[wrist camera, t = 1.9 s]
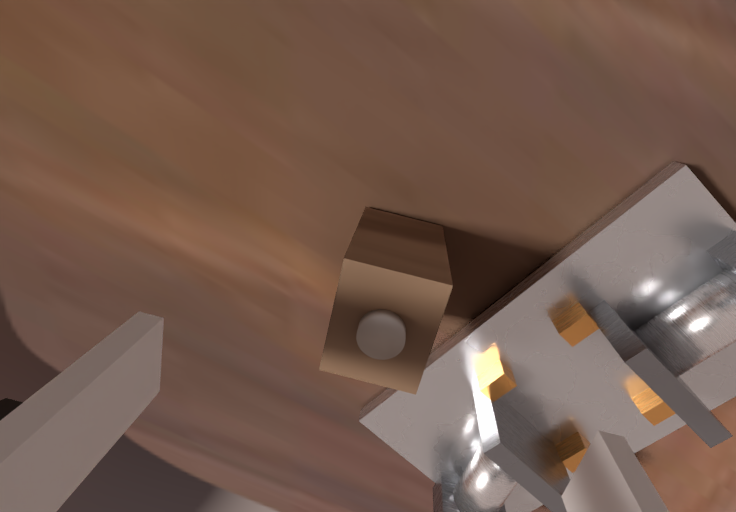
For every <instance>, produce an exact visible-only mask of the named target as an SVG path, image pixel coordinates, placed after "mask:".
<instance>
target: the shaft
mask: <svg viewBox="0 0 736 512" xmlns="http://www.w3.org/2000/svg"><path fill="white" fill-rule="evenodd" d="M516 484H517V482H516V481H515V480H514V479H513V478H512V477H510V476H509V475H508V474H507V473H506V472H505V471H503V470H502V469H501V468H500V467H499V466H497V465H496V464H495V463H494V462H493V461H492V460H490V459H489V458H488V457H487V456H486V455H485V454H484V452H483V446H482V441H481V442H480V444H479V446H478V448H477V449H476V451H475V453H474V455H473V456H472V458H471V460H470V462H469V463H468V465H467V467H466V469H465V470H464V472H463V474H462V476H461V477H460V479H458V478H455V477H452V476H449V475H446V474H443V473H441V474H440V476H439V478H438V479H437V481H436V483H435V485H434V487H433V510H434V512H506V509H505V504H504V502H505V501H506V499H507V498H508V496H509V495H510V493H511V492H512V490H513V489H514V487H515V486H516Z"/></svg>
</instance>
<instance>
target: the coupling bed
mask: <svg viewBox="0 0 736 512" xmlns="http://www.w3.org/2000/svg"><path fill="white" fill-rule="evenodd" d="M735 396H736V223H735V222H734V221H733V219H732V218H731V217H730V216H729V215H728V213H727V212H726V211H725V210H724V209H723V208H722V206H721V205H720V204H719V203H718V202H717V201H716V199H715V198H714V197H713V196H712V195H711V194H710V192H709V191H708V190H707V189H706V188H705V187H704V185H703V184H702V183H701V182H700V181H699V180H698V178H697V177H696V176H695V175H694V174H693V173H692V171H691V170H690V169H689V168H688V167H687V166H686V165H684V164H681V163H678V162H674V161H673V162H672V163H670V164H669V165H668V166H667V167H665V168H664V169H663V170H662V171H660V172H659V173H658V174H656V175H655V176H654V177H653V178H651V179H650V180H649V181H648V182H646V183H645V184H644V185H643V186H641V187H640V188H639V189H638V190H636V191H635V192H634V193H633V194H631V195H630V196H629V197H628V198H626V199H625V200H624V201H623V202H621V203H620V204H619V205H617V206H616V207H615V208H614V209H612V210H611V211H610V212H609V213H607V214H606V215H605V216H604V217H602V218H601V219H600V220H599V221H597V222H596V223H595V224H594V225H592V226H591V227H590V228H589V229H587V230H586V231H585V232H584V233H582V234H581V235H580V236H578V237H577V238H576V239H575V240H573V241H572V242H571V243H570V244H568V245H567V246H566V247H565V248H563V249H562V250H561V251H560V252H558V253H557V254H556V255H555V256H553V257H552V258H551V259H550V260H548V261H547V262H546V263H545V264H543V265H542V266H541V267H539V268H538V269H537V270H536V271H534V272H533V273H532V274H531V275H529V276H528V277H527V278H526V279H524V280H523V281H522V282H521V283H519V284H518V285H517V286H516V287H514V288H513V289H512V290H511V291H509V292H508V293H507V294H506V295H504V296H503V297H502V298H501V299H499V300H498V301H497V302H495V303H494V304H493V305H492V306H490V307H489V308H488V309H487V310H485V311H484V312H483V313H482V314H480V315H479V316H478V317H477V318H475V319H474V320H473V321H472V322H470V323H469V324H468V325H467V326H465V327H464V328H463V329H462V330H460V331H459V332H458V333H456V334H455V335H454V336H453V337H451V338H450V339H449V340H448V341H446V342H445V343H444V344H443V345H441V346H440V347H439V348H438V349H436V350H435V351H434V352H433V353H431V354H430V355H429V358H428V361H427V364H426V367H425V369H424V372H423V375H422V378H421V381H420V384H419V387H418V390H417V393H416V395H415V394H411V393H407V392H403V391H399V390H396V389H392V388H387V389H386V390H385V391H384V392H382V393H381V394H380V395H379V396H377V397H376V398H375V399H373V400H372V401H371V402H370V403H368V404H367V405H366V406H365V407H363V408H362V409H361V412H360V418H359V422H361V423H362V424H363V425H364V426H366V427H367V428H368V429H369V430H371V431H372V432H373V433H374V434H376V435H377V436H378V437H379V438H380V439H382V440H383V441H384V442H385V443H387V444H388V445H389V446H390V447H392V448H393V449H394V450H395V451H397V452H398V453H399V454H400V455H401V456H403V457H404V458H405V459H406V460H408V461H409V462H410V463H411V464H413V465H414V466H415V467H416V468H417V469H419V470H420V471H421V472H422V473H424V474H425V475H426V476H427V477H429V478H430V479H431V480H432V481H434V482H435V483H436V481H437V479H438V478H439V476H440V474H441V473H443V474H446V475H449V476H452V477H455V478H458V479H460V477H461V476H462V474H463V472H464V470H465V469H466V467H467V465H468V463H469V462H470V460H471V458H472V456H473V455H474V453H475V451H476V449H477V448H478V446H479V444H480V442H481V441H482V446H483V452H484V454H485V455H486V456H487V457H488V458H489V459H490V460H492V461H493V462H494V463H495V464H496V465H497V466H499V467H500V468H501V469H502V470H503V471H505V472H506V473H507V474H508V475H509V476H510V477H512V478H513V479H514V480H515V481H516V482H517V484H516V486H515V487H514V489H513V490H512V492H511V493H510V495H509V496H508V498H507V499H506V501H505V502H504V504H505V509H506V512H531V511H533V510H535V509H536V508H538V507H540V506H542V505H544V506H546V507H547V508H548V509H549V510H550V511H552V512H567V511H566V508H565V505H564V502H563V499H562V497H561V496H562V494H563V493H564V491H565V489H566V487H567V485H568V484H569V482H570V480H571V478H572V476H573V475H574V473H575V471H576V469H577V467H578V466H579V464H580V462H581V460H582V458H583V457H584V455H585V453H586V451H587V449H588V448H589V446H590V444H591V442H592V440H593V439H594V437H595V435H596V433H597V431H598V430H600V431H603V432H607V433H611V434H615V435H619V436H623V437H624V438H625V439H626V441H627V443H628V444H629V446H630V448H631V449H632V451H633V453H636V452H638V451H639V450H641V449H643V448H645V447H646V446H648V445H650V444H652V443H654V442H655V441H657V440H659V439H661V438H662V437H664V436H666V435H668V434H670V433H671V432H673V431H675V430H677V429H678V428H680V427H682V426H684V425H686V424H687V425H688V426H689V427H690V428H691V429H692V430H693V431H694V432H695V433H696V434H697V435H698V436H699V437H700V438H701V439H702V440H703V441H704V442H705V443H706V444H707V445H708V446H709V447H710V448H712V447H713V446H715V445H717V444H719V443H721V442H723V441H725V440H727V439H728V438H730V437H732V435H731V433H730V432H729V431H728V430H727V429H726V428H725V427H724V426H723V424H722V423H721V422H720V421H719V420H718V419H717V418H716V417H715V416H714V414H713V413H712V412H711V411H710V410H712V409H714V408H716V407H718V406H719V405H721V404H723V403H725V402H726V401H728V400H730V399H732V398H734V397H735Z"/></svg>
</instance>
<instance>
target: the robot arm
mask: <svg viewBox="0 0 736 512" xmlns="http://www.w3.org/2000/svg"><path fill="white" fill-rule="evenodd" d="M163 323H164V318H162V317H158V316H154V315H150V314H146V313H143V312H138V313H136V314H135V315H134V316H133V317H131V318H130V319H129V320H128V321H126V322H125V323H124V324H122V325H121V326H120V327H119V328H117V329H116V330H115V331H114V332H112V333H111V334H110V335H108V336H107V337H106V338H105V339H103V340H102V341H101V342H100V343H98V344H97V345H96V346H94V347H93V348H92V349H91V350H89V351H88V352H87V353H86V354H84V355H83V356H82V357H81V358H79V359H78V360H77V361H75V362H74V363H73V364H72V365H70V366H69V367H68V368H67V369H65V370H64V371H63V372H61V373H60V374H59V375H58V376H56V377H55V378H54V379H53V380H51V381H50V382H49V383H48V384H46V385H45V386H44V387H43V388H41V389H40V390H39V391H38V392H36V393H35V394H34V395H32V396H31V397H30V398H28V399H27V400H26V401H25V402H19V401H15V400H11V399H7V398H5V399H3V400H1V401H0V512H56V511H57V510H58V509H59V508H60V507H61V505H62V504H63V503H64V502H65V501H66V500H67V498H68V497H69V496H70V494H72V493H73V491H74V490H75V489H76V488H77V487H78V486H79V484H80V483H81V482H82V481H83V480H84V479H85V477H86V476H87V475H88V474H89V473H90V472H91V470H92V469H93V468H94V467H95V466H96V465H97V464H98V462H99V461H100V460H101V459H102V458H103V456H104V455H105V454H106V453H107V452H108V451H109V450H110V448H111V447H112V446H113V445H114V444H115V442H116V441H117V440H118V439H119V438H120V437H121V436H122V435H123V433H124V432H125V431H126V430H127V429H128V428H129V426H130V425H131V424H132V423H133V422H134V421H135V419H136V418H137V417H138V416H139V415H140V414H141V412H142V411H143V410H144V409H145V408H146V407H147V405H148V404H149V403H150V402H151V401H152V400H153V399H154V397H155V396H156V395H157V394H158V393H159V392H160V375H161V357H162V340H163ZM561 497H562V499H563V502H564V505H565V508H566V511H567V512H669V511H668V509H667V507H666V506H665V504H664V502H663V501H662V499H661V497H660V496H659V494H658V492H657V491H656V489H655V487H654V486H653V484H652V482H651V481H650V479H649V477H648V476H647V474H646V472H645V471H644V469H643V467H642V466H641V464H640V462H639V461H638V459H637V458H636V456H635V454H634V453H633V451H632V449H631V448H630V446H629V444H628V443H627V441H626V439H625V438H624V437H623V436H619V435H615V434H611V433H607V432H603V431H600V430H598V431H597V433H596V435H595V437H594V439H593V440H592V442H591V444H590V446H589V448H588V449H587V451H586V453H585V455H584V457H583V458H582V460H581V462H580V464H579V466H578V467H577V469H576V471H575V473H574V475H573V476H572V478H571V480H570V482H569V484H568V485H567V487H566V489H565V491H564V493H563V494H562V496H561Z"/></svg>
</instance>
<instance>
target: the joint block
mask: <svg viewBox="0 0 736 512" xmlns="http://www.w3.org/2000/svg"><path fill="white" fill-rule="evenodd" d="M452 287H453V283H452V277H451V271H450V266H449V260H448V254H447V249H446V243H445V238H444V232H443V226H440V225H436V224H432V223H428V222H424V221H420V220H416V219H412V218H408V217H404V216H400V215H396V214H392V213H388V212H384V211H380V210H376V209H372V208H368V207H366V208H365V210H364V212H363V215H362V217H361V219H360V222H359V224H358V226H357V229H356V231H355V233H354V236H353V238H352V240H351V243H350V245H349V248H348V250H347V252H346V255H345V257H344V260H343V265H342V269H341V274H340V278H339V283H338V287H337V292H336V296H335V301H334V305H333V310H332V314H331V319H330V323H329V327H328V332H327V336H326V341H325V345H324V350H323V354H322V359H321V363H320V368H319V370H322V371H326V372H330V373H333V374H337V375H341V376H345V377H349V378H353V379H357V380H361V381H364V382H368V383H372V384H376V385H380V386H384V387H388V388H392V389H396V390H399V391H403V392H407V393H411V394H415V395H416V393H417V390H418V387H419V384H420V381H421V378H422V375H423V372H424V369H425V367H426V364H427V361H428V358H429V355H430V352H431V349H432V346H433V343H434V340H435V337H436V334H437V331H438V328H439V325H440V323H441V320H442V317H443V314H444V311H445V308H446V305H447V302H448V299H449V296H450V293H451V290H452Z"/></svg>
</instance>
